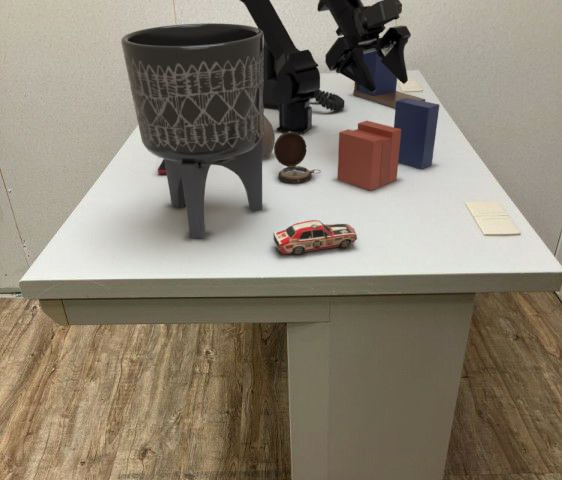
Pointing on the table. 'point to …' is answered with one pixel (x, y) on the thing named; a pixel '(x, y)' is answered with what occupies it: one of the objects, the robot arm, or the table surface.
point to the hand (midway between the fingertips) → (390, 86)
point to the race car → (313, 237)
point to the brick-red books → (369, 155)
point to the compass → (292, 157)
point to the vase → (267, 138)
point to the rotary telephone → (272, 80)
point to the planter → (200, 106)
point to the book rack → (385, 97)
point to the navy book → (416, 131)
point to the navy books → (378, 75)
